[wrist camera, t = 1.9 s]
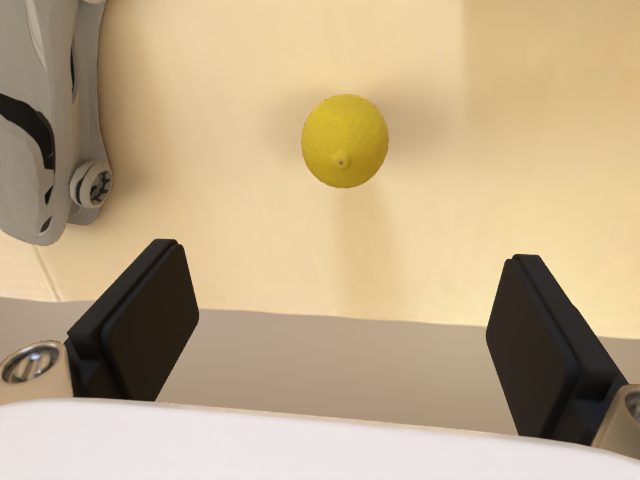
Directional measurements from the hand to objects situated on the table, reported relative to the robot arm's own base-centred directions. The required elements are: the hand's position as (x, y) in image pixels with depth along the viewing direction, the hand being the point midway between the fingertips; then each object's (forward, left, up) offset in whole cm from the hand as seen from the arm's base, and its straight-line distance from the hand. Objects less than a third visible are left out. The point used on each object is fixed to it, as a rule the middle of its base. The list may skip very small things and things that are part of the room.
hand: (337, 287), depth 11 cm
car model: (-24, +2, -20) cm, 31 cm away
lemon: (-1, 0, -20) cm, 20 cm away
